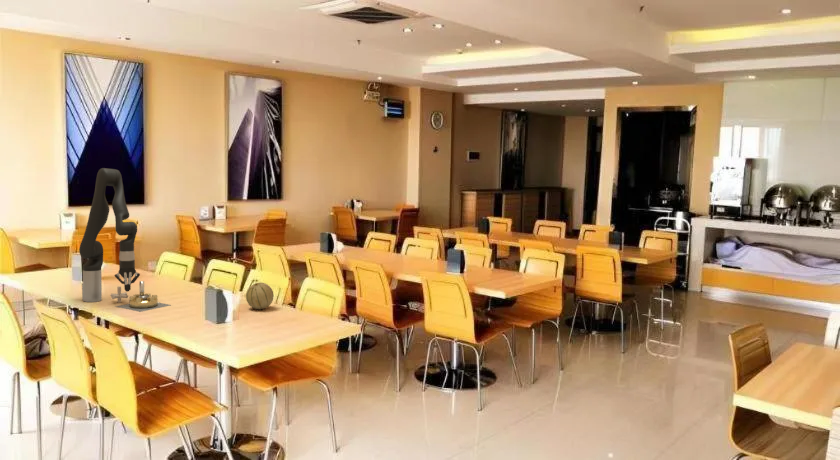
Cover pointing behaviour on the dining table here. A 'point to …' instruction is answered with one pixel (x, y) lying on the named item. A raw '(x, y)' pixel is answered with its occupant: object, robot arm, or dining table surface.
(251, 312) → the dining table surface
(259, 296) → the cantaloupe
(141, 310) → the base plate
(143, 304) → the brass lugged hub
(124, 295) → the pipe connector
